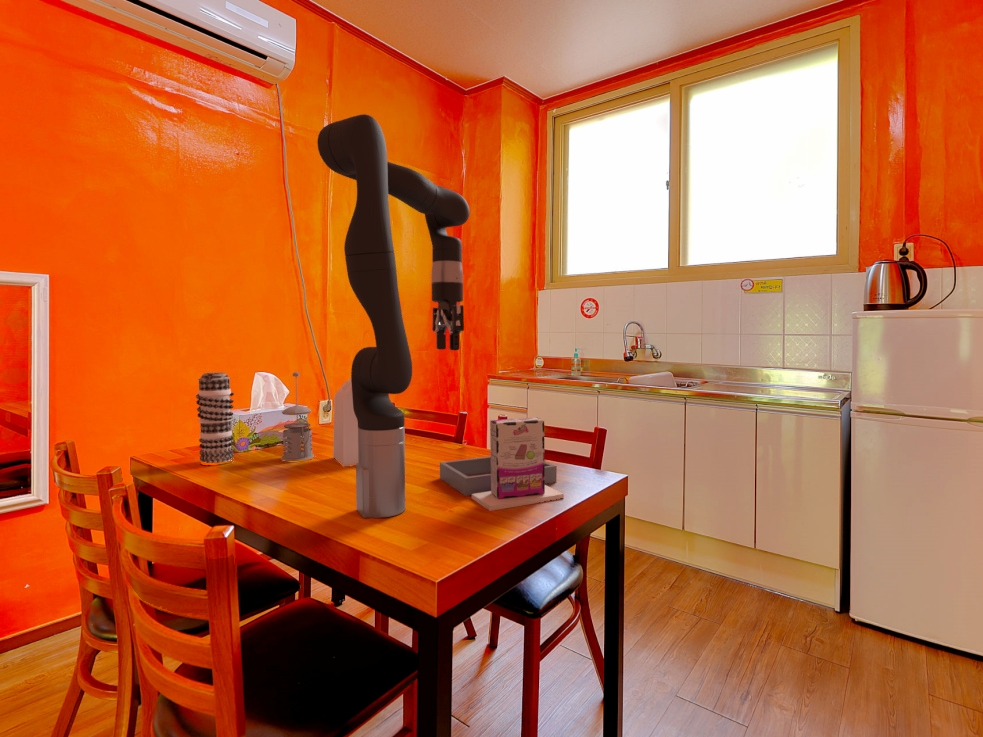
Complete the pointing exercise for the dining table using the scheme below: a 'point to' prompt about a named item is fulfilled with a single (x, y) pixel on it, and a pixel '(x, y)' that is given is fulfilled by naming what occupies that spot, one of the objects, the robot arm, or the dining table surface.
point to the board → (514, 499)
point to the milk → (345, 427)
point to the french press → (297, 434)
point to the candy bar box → (517, 457)
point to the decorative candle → (215, 418)
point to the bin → (461, 469)
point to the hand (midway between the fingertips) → (447, 349)
